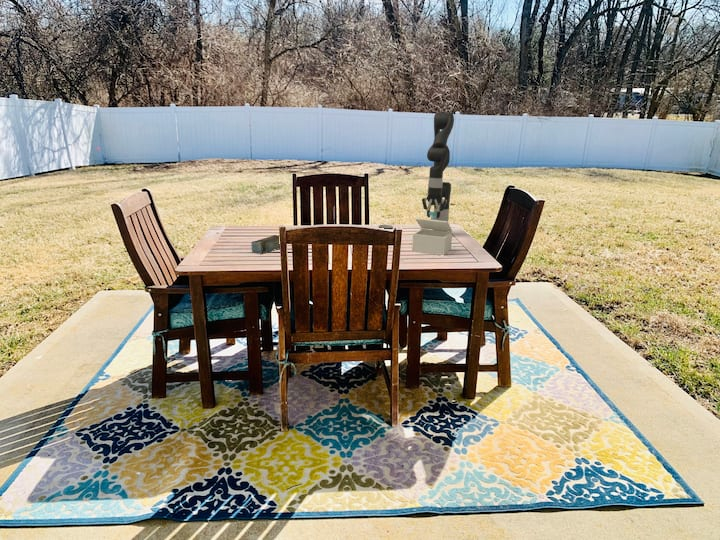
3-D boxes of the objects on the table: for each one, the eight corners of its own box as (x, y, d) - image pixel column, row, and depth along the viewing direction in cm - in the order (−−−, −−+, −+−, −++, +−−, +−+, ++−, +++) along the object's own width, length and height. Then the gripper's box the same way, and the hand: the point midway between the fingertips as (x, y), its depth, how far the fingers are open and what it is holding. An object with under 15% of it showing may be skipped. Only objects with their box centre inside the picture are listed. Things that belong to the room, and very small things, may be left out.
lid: (421, 228, 288) (423, 219, 289) (452, 231, 281) (454, 222, 282) (415, 219, 274) (417, 209, 275) (447, 222, 267) (449, 212, 268)
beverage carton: (250, 252, 272) (250, 240, 270) (275, 245, 287) (274, 233, 285) (261, 254, 267) (261, 242, 265) (285, 247, 283) (285, 236, 281)
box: (420, 245, 291) (421, 228, 288) (450, 249, 284) (452, 232, 281) (412, 251, 278) (413, 234, 275) (443, 255, 271) (445, 237, 268)
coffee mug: (374, 242, 296) (375, 225, 293) (385, 240, 301) (386, 224, 298) (387, 246, 287) (388, 229, 284) (398, 244, 292) (399, 227, 289)
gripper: (450, 186, 270) (447, 218, 275) (424, 184, 275) (422, 215, 280) (446, 188, 263) (444, 220, 268) (420, 186, 269) (418, 217, 274)
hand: (433, 217), depth 274 cm, fingers closed on lid, 4 cm apart
